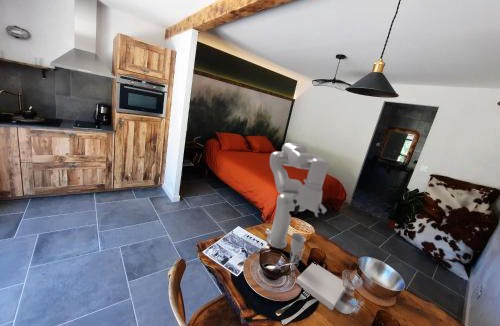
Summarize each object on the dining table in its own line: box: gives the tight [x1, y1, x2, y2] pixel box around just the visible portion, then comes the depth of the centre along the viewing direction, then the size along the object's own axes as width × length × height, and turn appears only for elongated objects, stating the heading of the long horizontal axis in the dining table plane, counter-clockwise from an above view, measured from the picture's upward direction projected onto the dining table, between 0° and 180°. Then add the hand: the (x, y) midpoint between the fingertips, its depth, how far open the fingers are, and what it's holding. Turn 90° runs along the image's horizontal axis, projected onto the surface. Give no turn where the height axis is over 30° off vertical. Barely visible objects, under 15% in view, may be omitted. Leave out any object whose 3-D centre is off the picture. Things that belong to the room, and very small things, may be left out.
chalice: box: [290, 233, 307, 270], centre depth 110 cm, size 7×7×18 cm
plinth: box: [295, 262, 346, 311], centre depth 103 cm, size 18×18×3 cm
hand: (304, 217), depth 104 cm, fingers open, 9 cm apart
